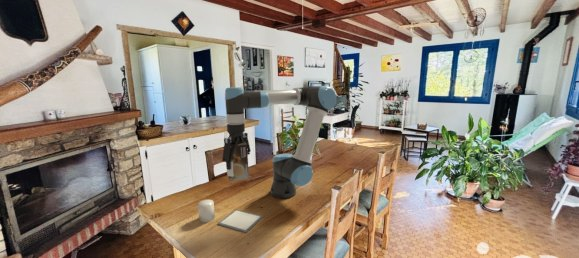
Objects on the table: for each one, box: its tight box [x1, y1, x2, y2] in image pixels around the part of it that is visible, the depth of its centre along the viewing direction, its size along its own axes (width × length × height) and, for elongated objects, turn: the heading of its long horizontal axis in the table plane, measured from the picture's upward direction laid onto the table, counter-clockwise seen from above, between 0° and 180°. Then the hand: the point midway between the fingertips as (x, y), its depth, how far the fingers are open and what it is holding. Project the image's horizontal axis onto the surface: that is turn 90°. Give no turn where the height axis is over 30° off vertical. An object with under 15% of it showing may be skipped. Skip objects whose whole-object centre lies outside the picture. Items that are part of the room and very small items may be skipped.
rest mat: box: [217, 208, 264, 234], centre depth 116 cm, size 14×16×1 cm
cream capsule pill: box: [197, 199, 216, 224], centre depth 117 cm, size 7×7×8 cm
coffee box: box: [227, 142, 250, 182], centre depth 110 cm, size 9×6×16 cm
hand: (238, 171), depth 111 cm, fingers closed on coffee box, 10 cm apart
